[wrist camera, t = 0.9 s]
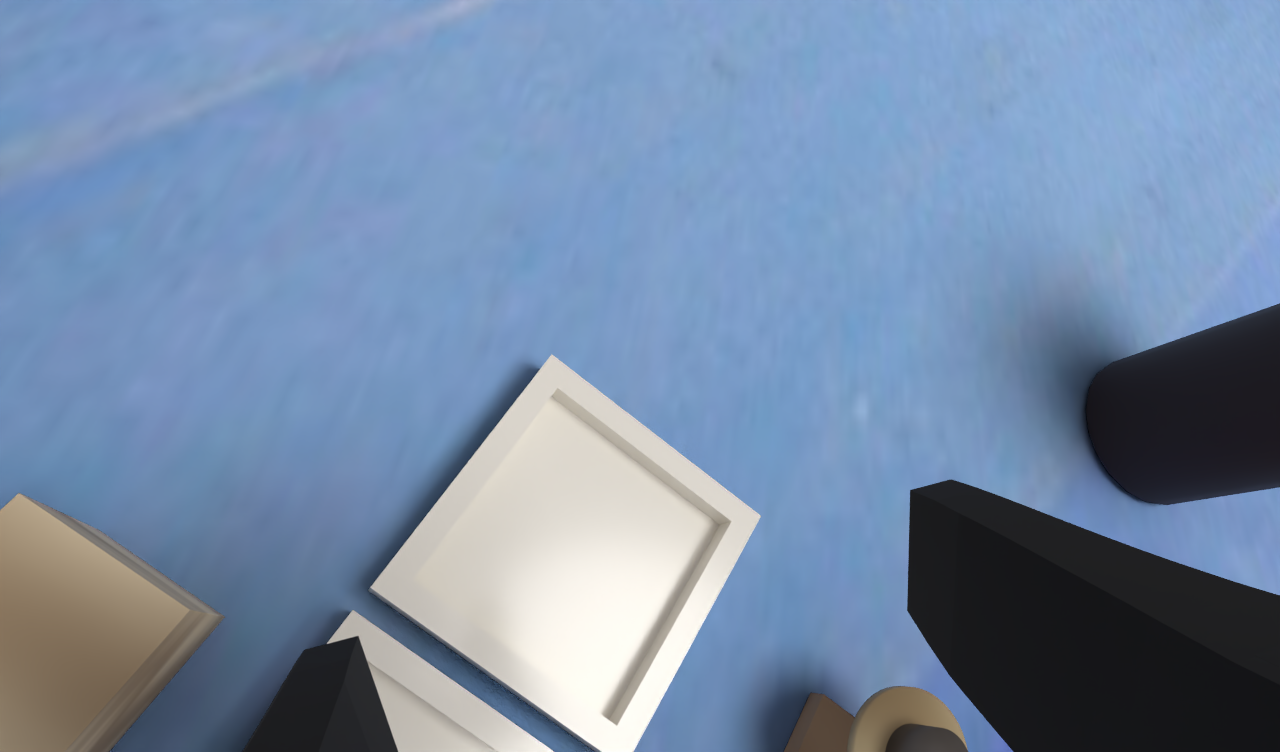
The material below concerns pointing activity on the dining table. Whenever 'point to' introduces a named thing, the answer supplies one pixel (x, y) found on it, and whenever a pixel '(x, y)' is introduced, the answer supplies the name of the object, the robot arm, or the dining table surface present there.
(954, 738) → the balance
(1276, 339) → the bottle
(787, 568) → the dining table surface
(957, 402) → the dining table surface
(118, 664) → the maple block
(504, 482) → the outer dish
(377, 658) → the white square tray
